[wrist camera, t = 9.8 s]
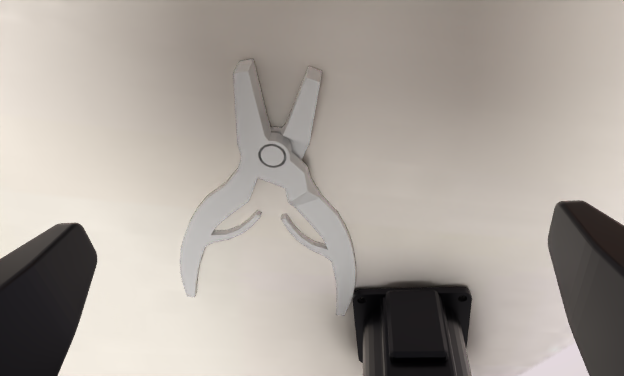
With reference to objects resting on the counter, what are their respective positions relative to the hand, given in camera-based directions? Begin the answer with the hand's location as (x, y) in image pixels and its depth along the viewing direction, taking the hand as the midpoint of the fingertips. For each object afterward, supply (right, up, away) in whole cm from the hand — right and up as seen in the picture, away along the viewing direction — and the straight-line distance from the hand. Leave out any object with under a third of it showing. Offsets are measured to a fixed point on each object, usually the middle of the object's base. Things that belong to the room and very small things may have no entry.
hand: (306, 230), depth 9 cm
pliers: (-2, 0, +16) cm, 16 cm away
